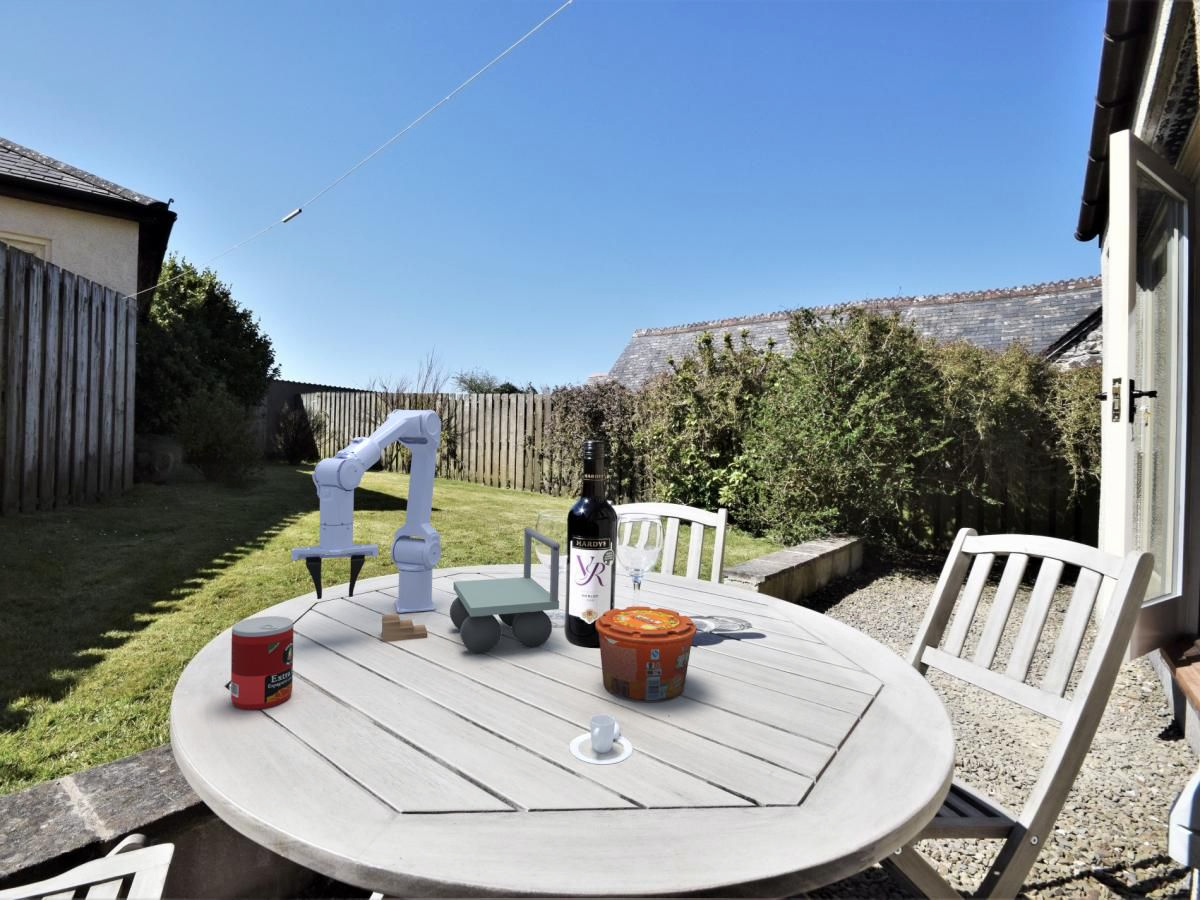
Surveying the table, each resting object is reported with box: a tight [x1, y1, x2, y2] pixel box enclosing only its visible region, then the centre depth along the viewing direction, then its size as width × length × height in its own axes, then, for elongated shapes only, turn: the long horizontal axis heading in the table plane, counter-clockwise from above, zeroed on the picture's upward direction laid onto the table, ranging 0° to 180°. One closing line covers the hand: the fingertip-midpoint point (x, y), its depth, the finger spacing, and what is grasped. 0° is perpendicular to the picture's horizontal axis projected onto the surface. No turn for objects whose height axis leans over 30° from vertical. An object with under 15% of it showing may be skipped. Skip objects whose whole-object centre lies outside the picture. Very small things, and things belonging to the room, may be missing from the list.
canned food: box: [230, 615, 294, 711], centre depth 89 cm, size 8×8×11 cm
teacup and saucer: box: [569, 713, 634, 766], centre depth 78 cm, size 9×8×4 cm
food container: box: [594, 605, 697, 703], centre depth 97 cm, size 16×16×11 cm
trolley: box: [449, 526, 561, 655], centre depth 118 cm, size 20×17×20 cm
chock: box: [381, 613, 428, 643], centre depth 118 cm, size 5×8×4 cm, turn 112°
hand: (335, 596), depth 114 cm, fingers open, 5 cm apart
